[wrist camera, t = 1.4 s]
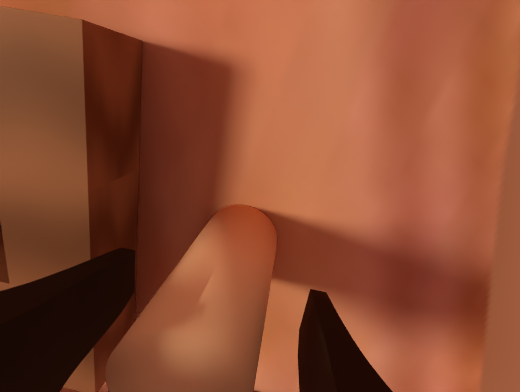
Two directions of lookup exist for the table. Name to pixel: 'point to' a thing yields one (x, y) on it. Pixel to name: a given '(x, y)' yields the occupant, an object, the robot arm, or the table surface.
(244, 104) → the table surface
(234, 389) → the cream peg
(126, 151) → the walnut holder
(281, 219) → the table surface
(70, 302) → the robot arm
